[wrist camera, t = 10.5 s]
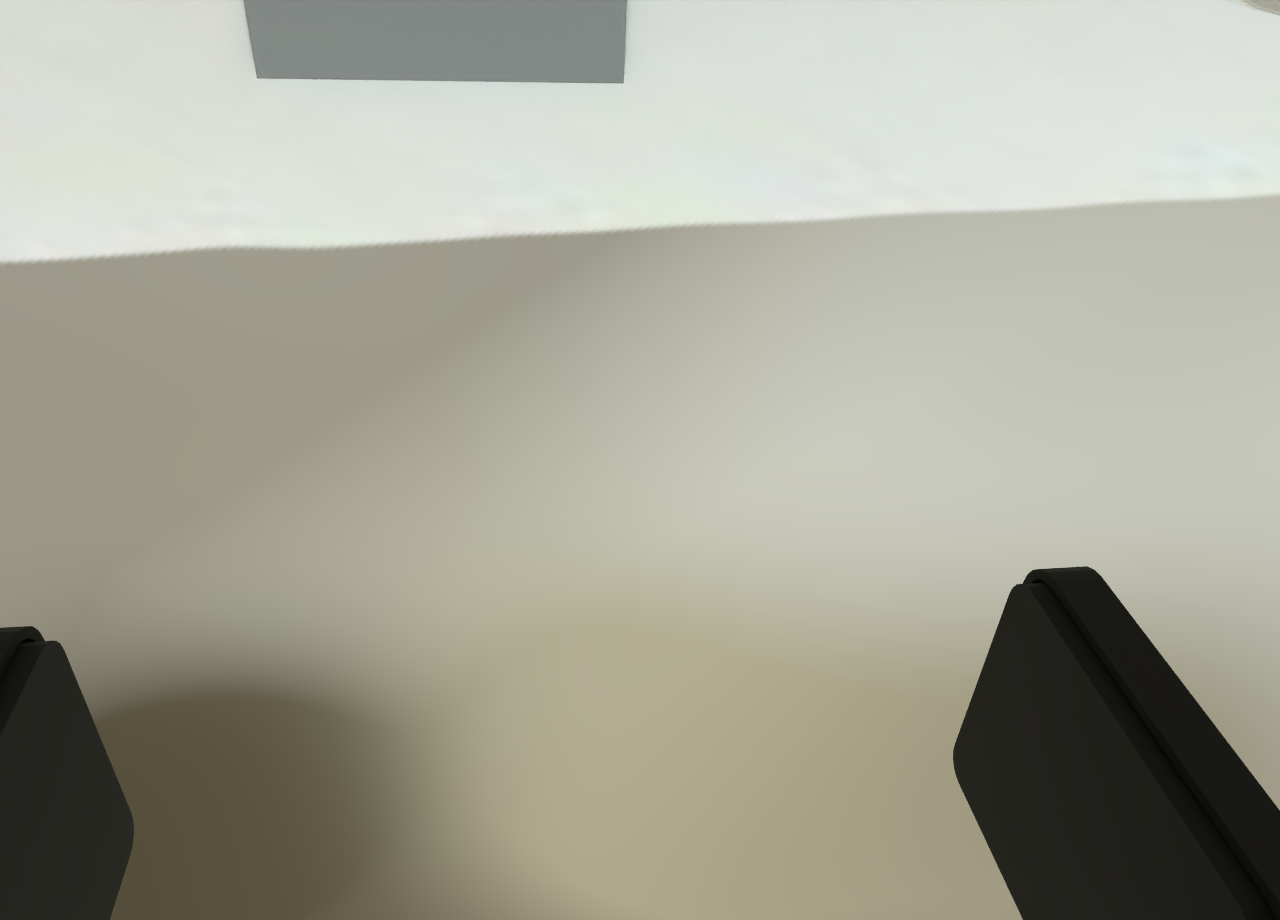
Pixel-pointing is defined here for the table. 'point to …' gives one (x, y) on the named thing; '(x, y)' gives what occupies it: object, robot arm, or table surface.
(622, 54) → the mat
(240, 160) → the table surface
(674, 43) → the table surface
